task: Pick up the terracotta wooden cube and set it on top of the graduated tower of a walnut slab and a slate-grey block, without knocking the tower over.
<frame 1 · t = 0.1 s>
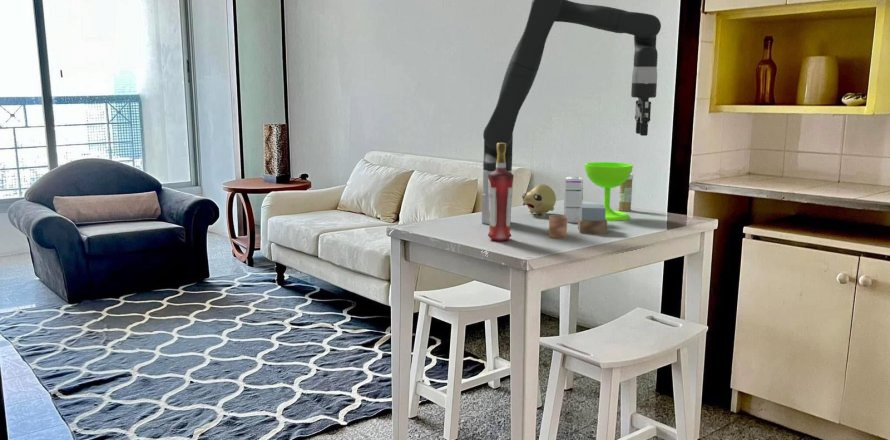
hand: (641, 134, 229), 29 cm above the table, fingers open, 8 cm apart
beige round toy: (538, 215, 254), on the table
terracotta cube: (557, 236, 217), on the table
walnut slab: (592, 231, 226), on the table, touching slate block
syrup box: (572, 221, 242), on the table
sprinkles bottle: (624, 211, 263), on the table
slate block: (592, 218, 225), point 4 cm above the table, touching walnut slab
liquor: (499, 240, 212), on the table
wineglass: (606, 217, 250), on the table
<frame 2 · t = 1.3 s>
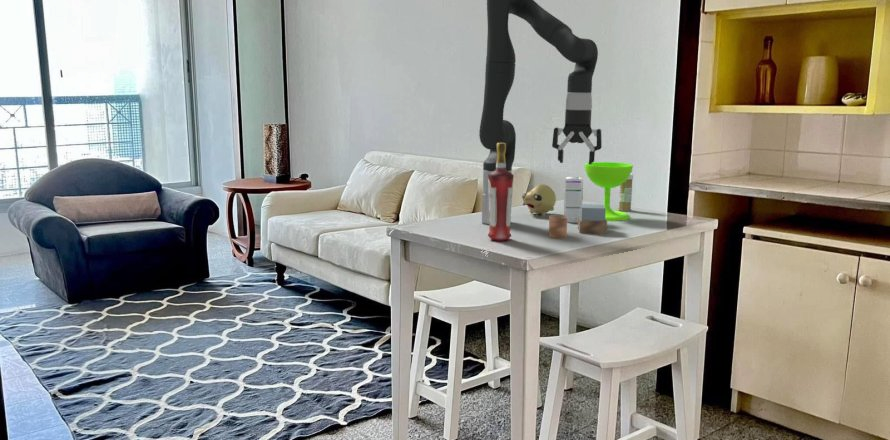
hand: (575, 163, 217), 21 cm above the table, fingers open, 8 cm apart
nothing on the table moved.
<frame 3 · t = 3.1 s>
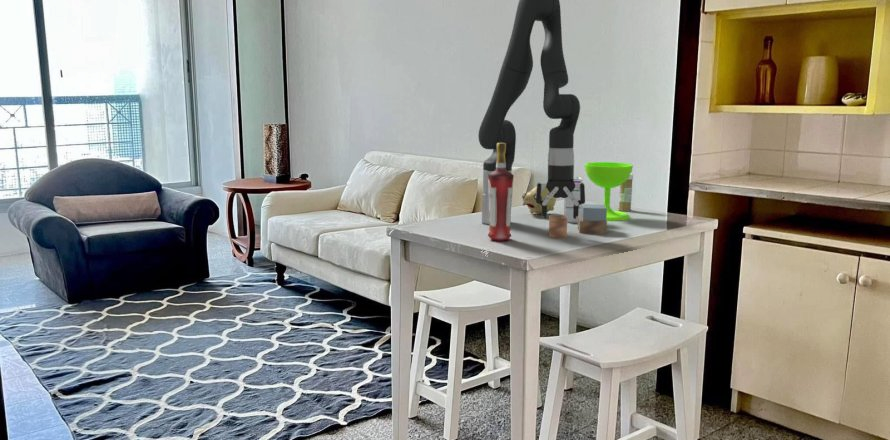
hand: (560, 217, 216), 6 cm above the table, fingers open, 8 cm apart
nothing on the table moved.
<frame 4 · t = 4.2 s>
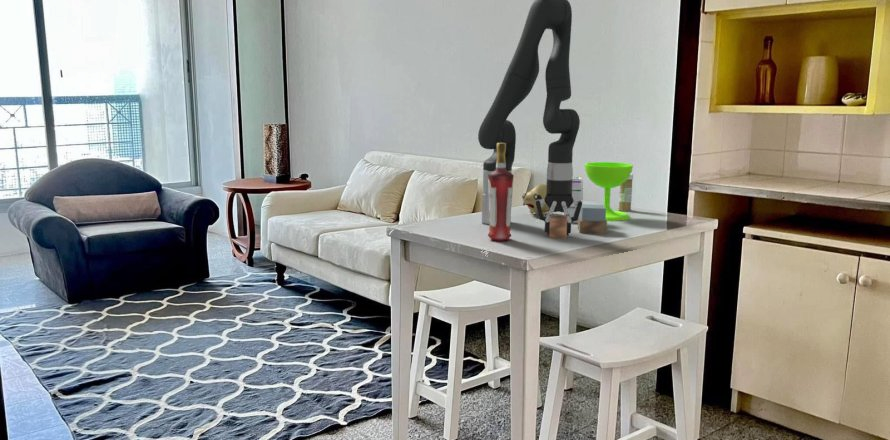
hand: (557, 234, 217), 1 cm above the table, fingers closed on terracotta cube, 5 cm apart
terracotta cube: (557, 236, 217), on the table, touching gripper
everything else where it was.
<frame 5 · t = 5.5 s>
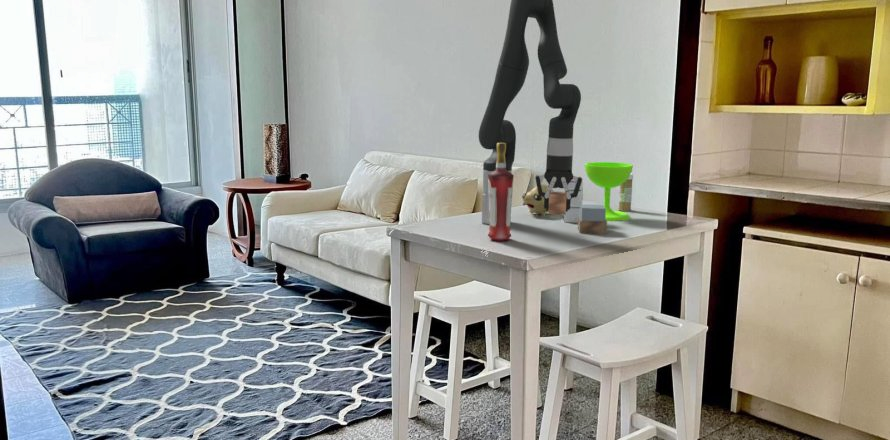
hand: (556, 210, 216), 8 cm above the table, fingers closed on terracotta cube, 5 cm apart
terracotta cube: (556, 212, 216), point 7 cm above the table, touching gripper
walnut slab: (591, 231, 226), on the table
slate block: (592, 219, 225), point 4 cm above the table
everything else where it was.
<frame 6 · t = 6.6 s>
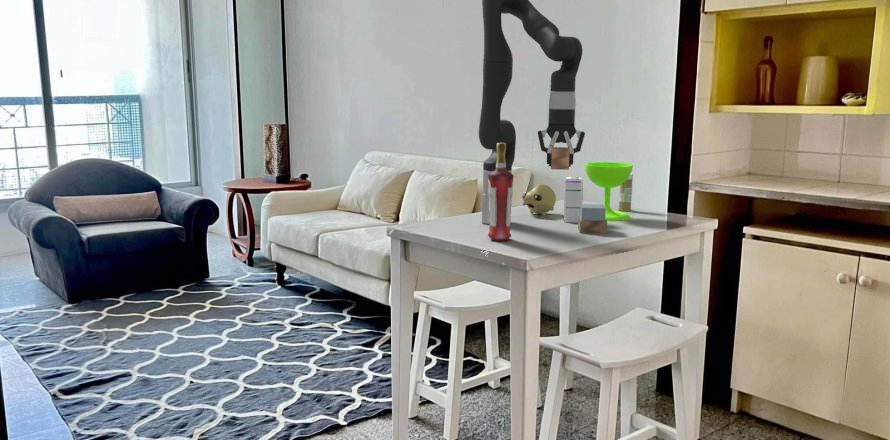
hand: (559, 166, 213), 21 cm above the table, fingers closed on terracotta cube, 5 cm apart
terracotta cube: (559, 168, 213), point 20 cm above the table, touching gripper
walnut slab: (592, 231, 226), on the table, touching slate block
slate block: (592, 218, 225), point 4 cm above the table, touching walnut slab
everything else where it was.
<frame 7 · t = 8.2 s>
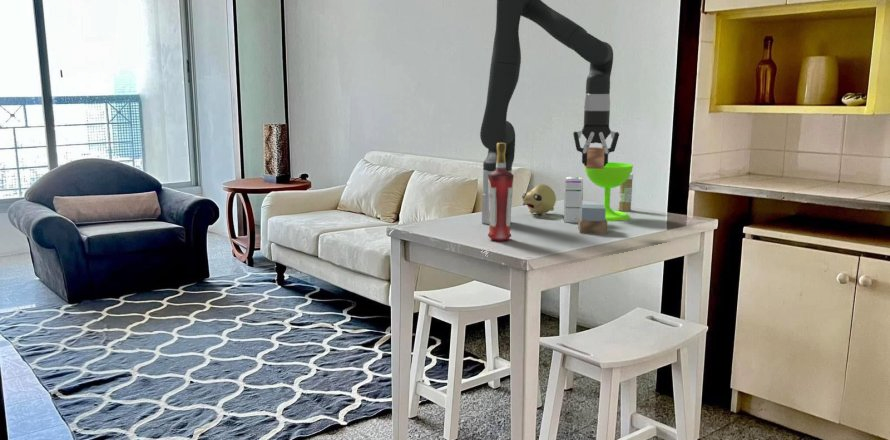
hand: (594, 165, 222), 20 cm above the table, fingers closed on terracotta cube, 5 cm apart
terracotta cube: (594, 167, 222), point 20 cm above the table, touching gripper
everything else where it was.
when the fingers open (10 cm above the table, at t = 10.1 s): terracotta cube drops 1 cm, point 8 cm above the table.
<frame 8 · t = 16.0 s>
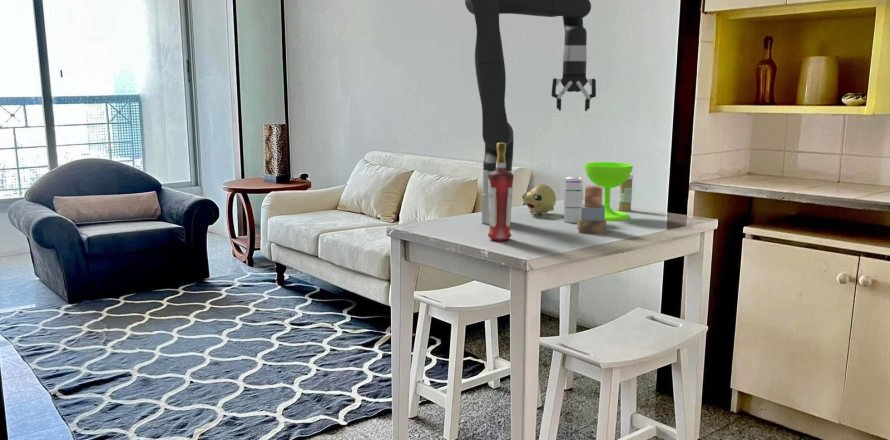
hand: (572, 110, 239), 36 cm above the table, fingers open, 8 cm apart
terracotta cube: (593, 206, 225), point 8 cm above the table
everything else where it was.
at the end: terracotta cube 0.1 cm off-centre on the slate block, point 4.0 cm above the slate block's base; terracotta cube tilted 0°; slate block moved 0.6 cm from its start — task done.
